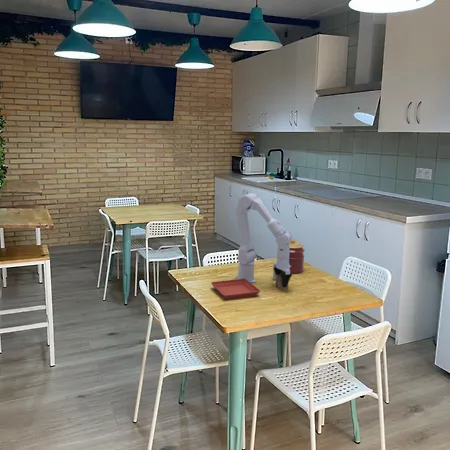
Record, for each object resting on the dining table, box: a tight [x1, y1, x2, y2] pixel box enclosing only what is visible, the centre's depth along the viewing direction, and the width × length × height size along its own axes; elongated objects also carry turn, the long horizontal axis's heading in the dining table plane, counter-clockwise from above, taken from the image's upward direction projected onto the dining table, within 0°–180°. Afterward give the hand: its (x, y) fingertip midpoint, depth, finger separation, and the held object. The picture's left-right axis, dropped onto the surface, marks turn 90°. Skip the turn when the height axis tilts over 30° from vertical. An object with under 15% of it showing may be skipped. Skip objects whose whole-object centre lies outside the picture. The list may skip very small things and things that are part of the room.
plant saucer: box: [211, 278, 261, 300], centre depth 211 cm, size 18×18×3 cm
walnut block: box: [275, 274, 289, 290], centre depth 218 cm, size 4×4×6 cm
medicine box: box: [272, 261, 284, 281], centre depth 230 cm, size 8×4×9 cm, turn 84°
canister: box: [289, 238, 305, 275], centre depth 244 cm, size 13×13×18 cm
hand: (281, 284), depth 219 cm, fingers open, 7 cm apart
